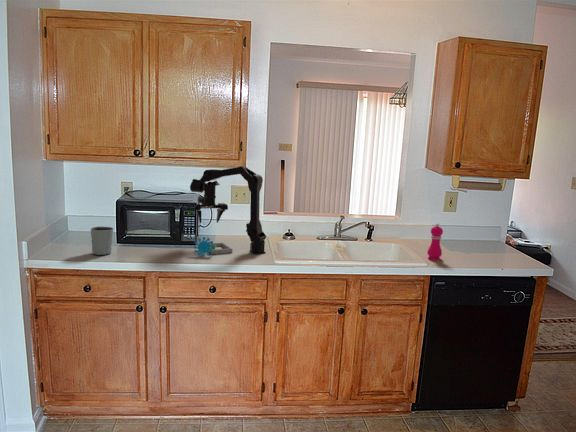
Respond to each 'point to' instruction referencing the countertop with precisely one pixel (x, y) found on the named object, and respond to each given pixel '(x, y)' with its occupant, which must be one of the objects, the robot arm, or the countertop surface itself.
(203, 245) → the gear
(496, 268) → the countertop surface
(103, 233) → the grey cup
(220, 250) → the tray
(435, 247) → the pepper mill
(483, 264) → the countertop surface
